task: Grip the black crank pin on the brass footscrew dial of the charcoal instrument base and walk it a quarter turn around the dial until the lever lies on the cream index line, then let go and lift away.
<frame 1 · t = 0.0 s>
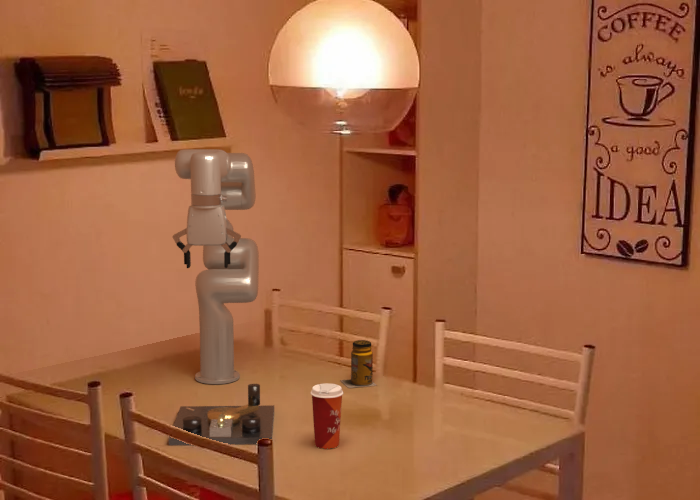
hand: (207, 267, 268), 37 cm above the table, tool pointing down, fingers open, 9 cm apart
paper cup: (327, 445, 244), on the table
crank dial: (235, 403, 258), point 5 cm above the table, hinge at 0.0°
condiment: (358, 384, 293), on the table
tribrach: (224, 427, 256), on the table
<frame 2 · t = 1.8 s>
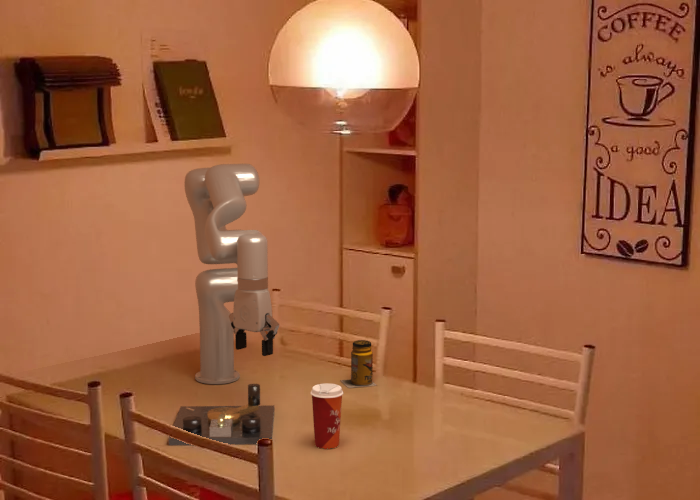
hand: (254, 351, 260), 17 cm above the table, tool pointing down, fingers open, 9 cm apart
nothing on the table moved.
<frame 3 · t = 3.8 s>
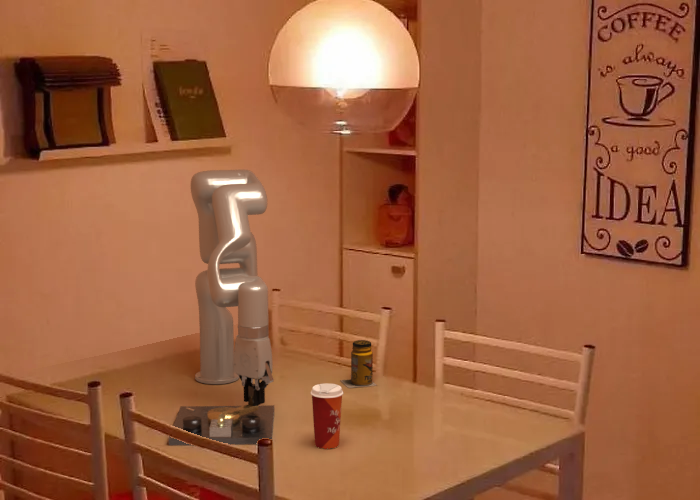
hand: (254, 401, 263), 4 cm above the table, tool pointing down, fingers closed on crank dial, 3 cm apart
crank dial: (235, 403, 258), point 5 cm above the table, hinge at 0.0°, touching gripper
everything else where it was.
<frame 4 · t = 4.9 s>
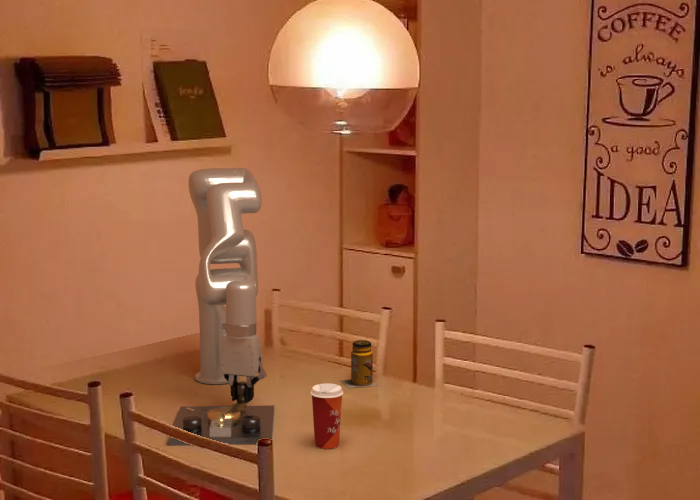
hand: (242, 399, 265), 4 cm above the table, tool pointing down, fingers closed on crank dial, 3 cm apart
crank dial: (230, 402, 259), point 5 cm above the table, hinge at 21.2°, touching gripper
everything else where it was.
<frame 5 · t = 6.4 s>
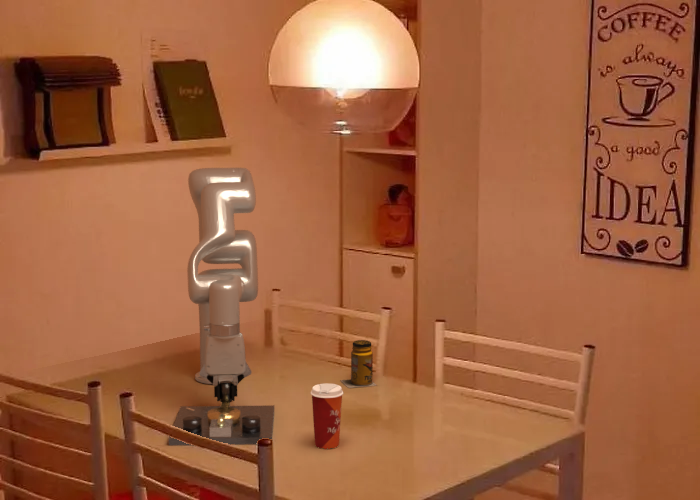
hand: (225, 398, 265), 4 cm above the table, tool pointing down, fingers closed on crank dial, 3 cm apart
crank dial: (224, 402, 259), point 5 cm above the table, hinge at 46.1°, touching gripper
everything else where it was.
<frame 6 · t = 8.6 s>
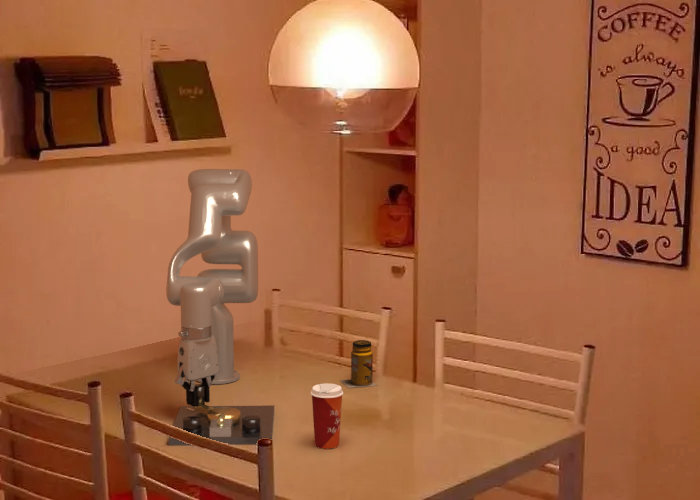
hand: (198, 402, 262), 4 cm above the table, tool pointing down, fingers open, 3 cm apart
crank dial: (214, 403, 258), point 5 cm above the table, hinge at 88.0°
everything else where it was.
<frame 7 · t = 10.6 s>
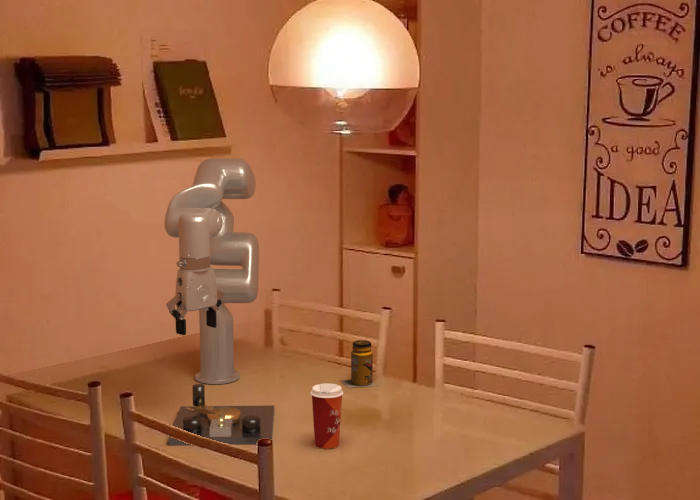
hand: (196, 330, 260), 23 cm above the table, tool pointing down, fingers open, 9 cm apart
nothing on the table moved.
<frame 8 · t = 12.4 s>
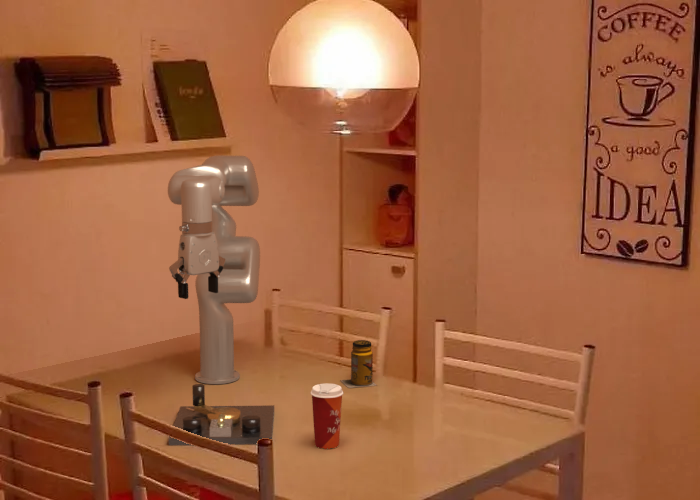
hand: (198, 295, 265), 30 cm above the table, tool pointing down, fingers open, 9 cm apart
nothing on the table moved.
at the end: crank dial at +88° (first picture: +0°); paper cup moved 0.2 cm from its start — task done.
